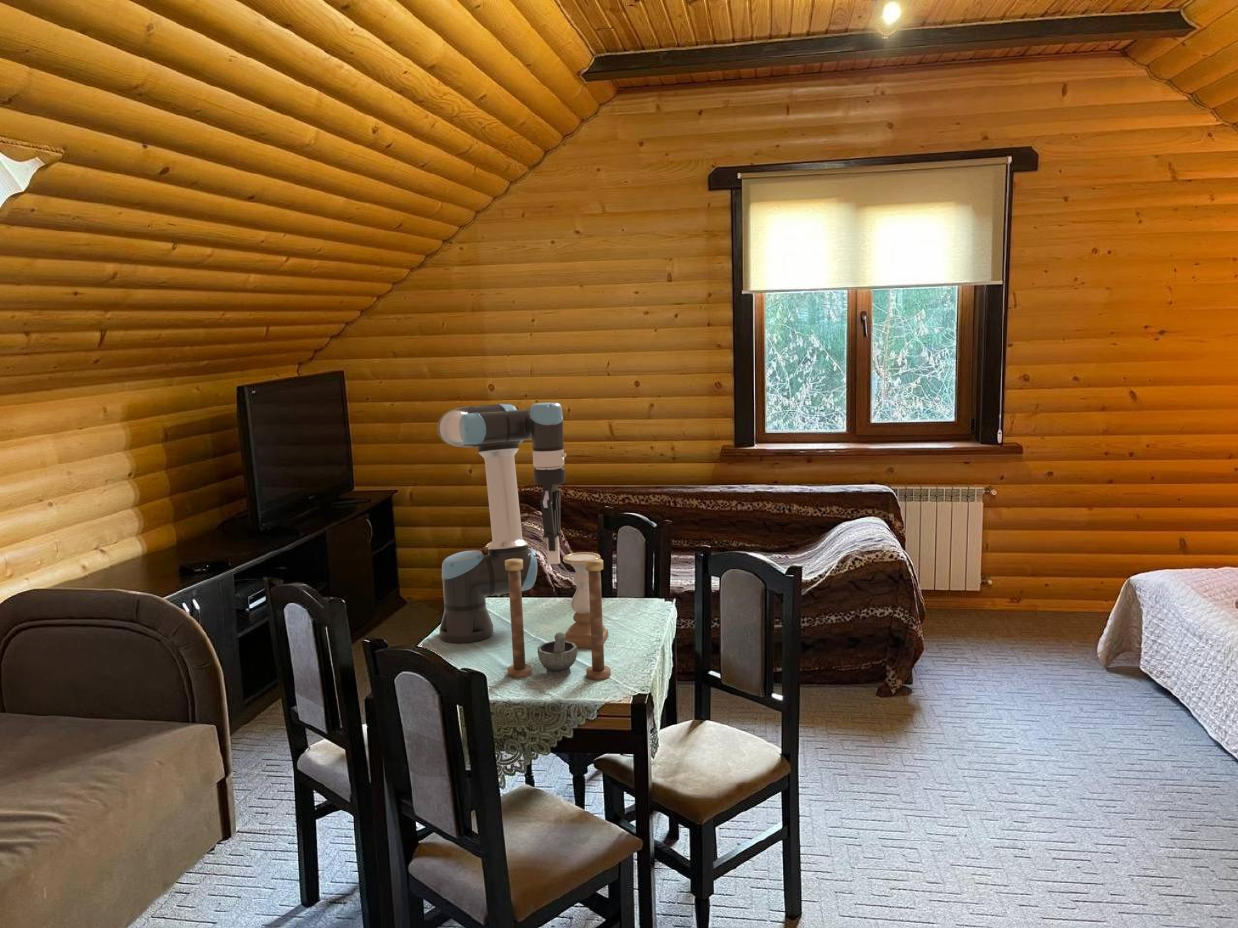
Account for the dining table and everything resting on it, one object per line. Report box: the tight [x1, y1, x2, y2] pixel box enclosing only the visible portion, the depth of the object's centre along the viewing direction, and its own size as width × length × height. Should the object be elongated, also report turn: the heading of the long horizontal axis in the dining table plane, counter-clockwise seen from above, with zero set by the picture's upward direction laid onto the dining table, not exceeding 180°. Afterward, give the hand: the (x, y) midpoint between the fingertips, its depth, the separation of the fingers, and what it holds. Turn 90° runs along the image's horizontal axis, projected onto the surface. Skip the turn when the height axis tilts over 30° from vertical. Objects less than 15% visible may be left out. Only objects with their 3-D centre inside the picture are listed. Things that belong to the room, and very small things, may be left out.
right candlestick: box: [585, 558, 612, 681], centre depth 228 cm, size 6×6×29 cm
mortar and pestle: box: [537, 632, 578, 679], centre depth 231 cm, size 11×9×12 cm
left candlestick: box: [505, 559, 533, 679], centre depth 231 cm, size 6×6×29 cm
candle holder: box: [562, 551, 609, 649], centre depth 254 cm, size 11×11×24 cm
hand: (553, 562), depth 228 cm, fingers closed
